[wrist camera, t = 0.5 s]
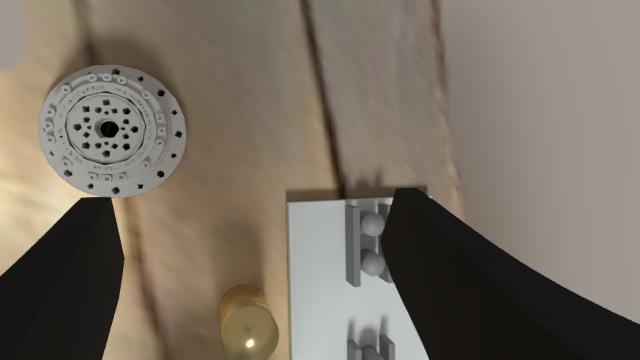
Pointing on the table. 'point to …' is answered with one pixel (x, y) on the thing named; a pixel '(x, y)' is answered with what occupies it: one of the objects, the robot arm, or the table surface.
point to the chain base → (344, 284)
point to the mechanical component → (84, 129)
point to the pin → (247, 325)
